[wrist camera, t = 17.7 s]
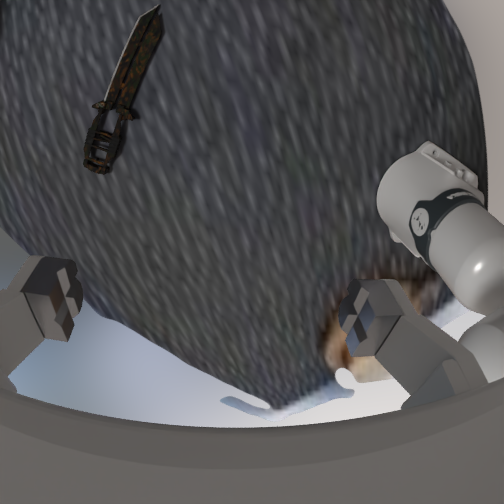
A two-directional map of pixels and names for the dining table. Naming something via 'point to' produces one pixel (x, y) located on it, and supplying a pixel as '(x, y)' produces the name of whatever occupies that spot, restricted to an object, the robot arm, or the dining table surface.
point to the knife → (127, 88)
